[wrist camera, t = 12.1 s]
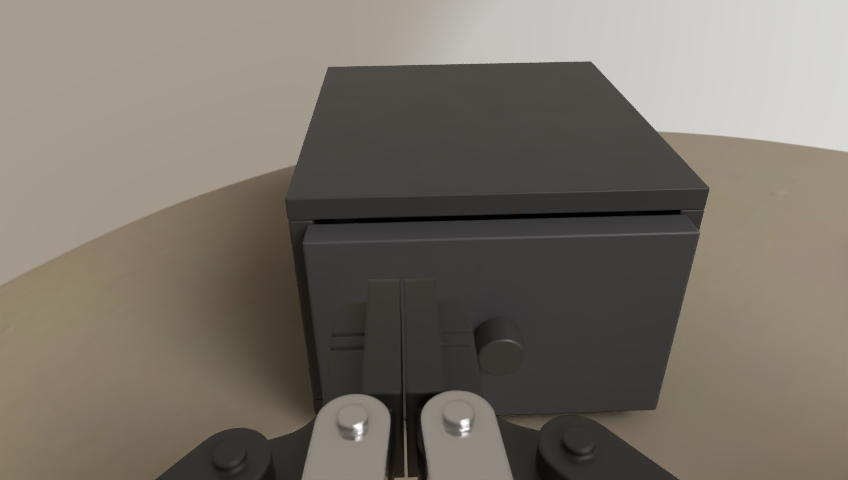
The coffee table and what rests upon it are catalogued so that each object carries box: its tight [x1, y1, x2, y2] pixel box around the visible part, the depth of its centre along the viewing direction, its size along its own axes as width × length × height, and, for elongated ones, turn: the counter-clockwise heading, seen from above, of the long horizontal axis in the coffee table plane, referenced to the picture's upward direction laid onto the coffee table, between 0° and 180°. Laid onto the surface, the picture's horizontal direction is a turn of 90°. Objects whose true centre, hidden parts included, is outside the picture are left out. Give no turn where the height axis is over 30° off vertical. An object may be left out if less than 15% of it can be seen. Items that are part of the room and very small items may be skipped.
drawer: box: [303, 211, 700, 418], centre depth 27 cm, size 15×12×8 cm
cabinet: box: [285, 62, 709, 414], centre depth 29 cm, size 15×14×10 cm
